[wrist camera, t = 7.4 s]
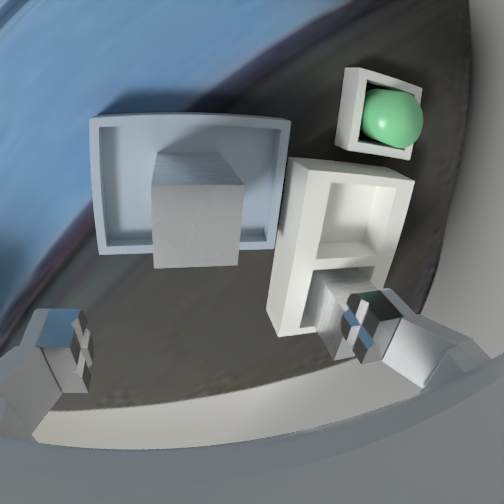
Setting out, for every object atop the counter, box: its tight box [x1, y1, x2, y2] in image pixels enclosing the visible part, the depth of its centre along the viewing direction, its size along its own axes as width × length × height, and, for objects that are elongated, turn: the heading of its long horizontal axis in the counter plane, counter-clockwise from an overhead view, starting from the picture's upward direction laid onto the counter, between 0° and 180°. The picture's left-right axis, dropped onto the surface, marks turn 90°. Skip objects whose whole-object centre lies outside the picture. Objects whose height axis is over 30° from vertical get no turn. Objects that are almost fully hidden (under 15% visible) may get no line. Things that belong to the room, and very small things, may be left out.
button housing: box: [334, 67, 422, 160], centre depth 20 cm, size 6×6×2 cm
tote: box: [89, 112, 291, 255], centre depth 20 cm, size 9×12×2 cm
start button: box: [360, 89, 423, 148], centre depth 19 cm, size 4×4×3 cm
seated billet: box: [304, 267, 378, 360], centre depth 24 cm, size 4×4×7 cm
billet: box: [151, 152, 245, 268], centre depth 17 cm, size 4×4×7 cm
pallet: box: [266, 157, 415, 337], centre depth 25 cm, size 14×9×4 cm, turn 174°
